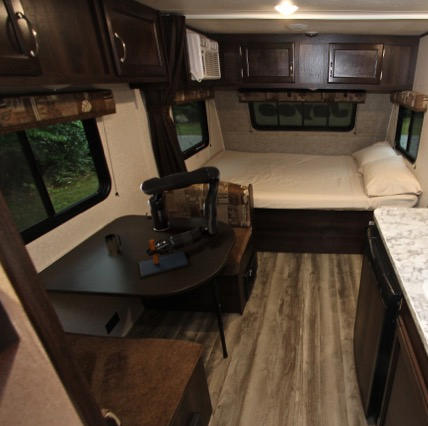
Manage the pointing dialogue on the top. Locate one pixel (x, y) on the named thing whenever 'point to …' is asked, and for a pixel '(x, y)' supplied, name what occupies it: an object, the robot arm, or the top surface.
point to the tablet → (163, 264)
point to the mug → (113, 244)
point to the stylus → (153, 247)
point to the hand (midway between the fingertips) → (147, 253)
